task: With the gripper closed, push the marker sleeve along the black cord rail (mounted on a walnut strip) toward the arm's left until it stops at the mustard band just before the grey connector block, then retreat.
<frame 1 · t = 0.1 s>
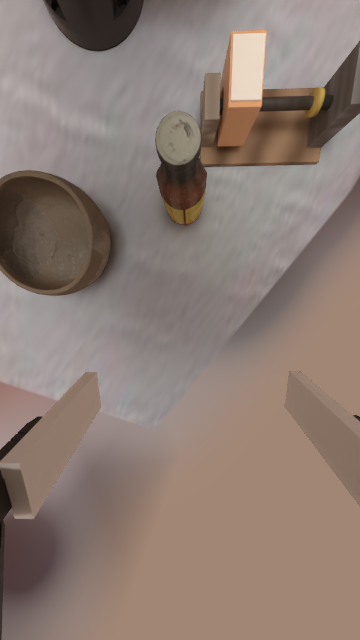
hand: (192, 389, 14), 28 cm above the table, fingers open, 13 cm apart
bowl: (75, 245, 38), on the table
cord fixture: (260, 130, 33), on the table
sauce bottle: (183, 208, 36), on the table
marker sleeve: (238, 97, 27), point 7 cm above the table, slide at 0.0 cm
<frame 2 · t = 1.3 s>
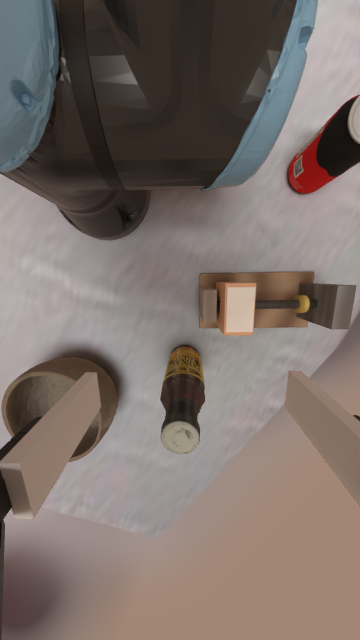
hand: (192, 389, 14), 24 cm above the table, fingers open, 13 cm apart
bowl: (83, 386, 41), on the table
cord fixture: (253, 300, 37), on the table
sauce bottle: (184, 358, 40), on the table
marker sleeve: (232, 306, 30), point 7 cm above the table, slide at 0.0 cm
beverage can: (304, 175, 32), on the table
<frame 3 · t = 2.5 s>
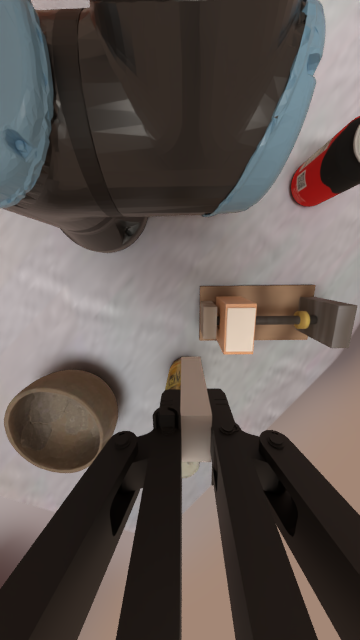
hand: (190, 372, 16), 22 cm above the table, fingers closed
bowl: (84, 395, 42), on the table
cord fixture: (253, 313, 37), on the table
sauce bottle: (184, 369, 40), on the table
marker sleeve: (233, 322, 30), point 7 cm above the table, slide at 0.0 cm
beverage can: (307, 187, 32), on the table
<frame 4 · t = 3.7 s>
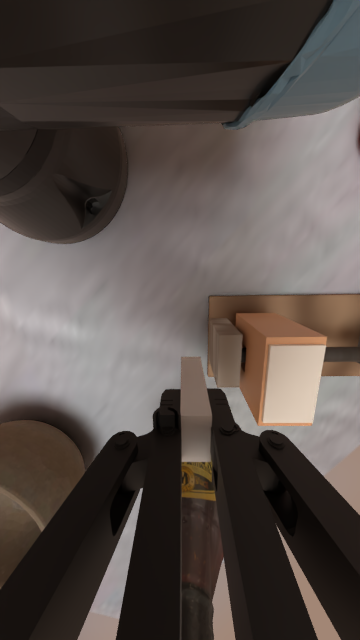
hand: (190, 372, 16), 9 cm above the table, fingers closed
bowl: (42, 450, 29), on the table
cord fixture: (290, 335, 24), on the table
sauce bottle: (184, 415, 27), on the table
marker sleeve: (268, 360, 18), point 7 cm above the table, slide at 0.0 cm
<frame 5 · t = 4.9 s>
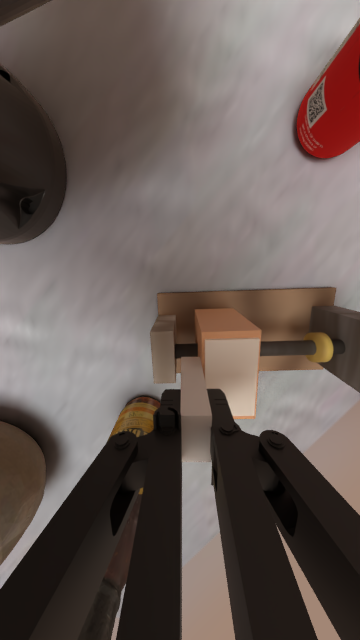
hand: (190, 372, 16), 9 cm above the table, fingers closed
bowl: (7, 449, 30), on the table
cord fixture: (241, 331, 24), on the table
sauce bottle: (144, 412, 28), on the table
marker sleeve: (220, 355, 18), point 7 cm above the table, slide at 1.6 cm, touching gripper
beverage can: (322, 127, 19), on the table
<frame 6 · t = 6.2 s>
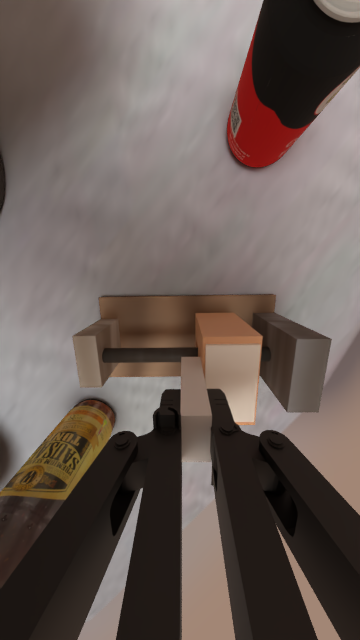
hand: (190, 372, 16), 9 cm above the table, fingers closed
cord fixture: (186, 336, 24), on the table
sauce bottle: (93, 415, 28), on the table
marker sleeve: (220, 360, 18), point 7 cm above the table, slide at 8.4 cm, touching gripper
beverage can: (256, 136, 19), on the table
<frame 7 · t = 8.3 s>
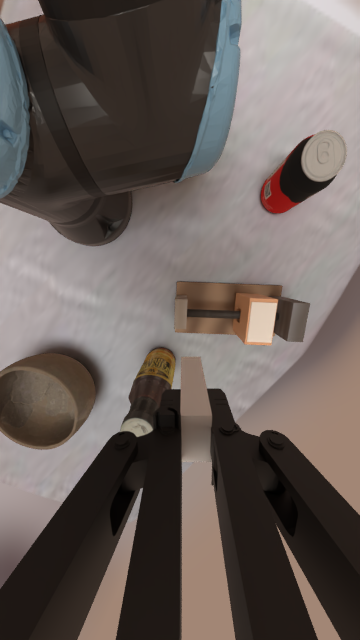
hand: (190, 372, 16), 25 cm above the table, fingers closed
bowl: (65, 380, 44), on the table
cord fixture: (226, 309, 39), on the table
sauce bottle: (160, 359, 42), on the table
marker sleeve: (252, 317, 33), point 7 cm above the table, slide at 8.4 cm
beverage can: (276, 195, 35), on the table
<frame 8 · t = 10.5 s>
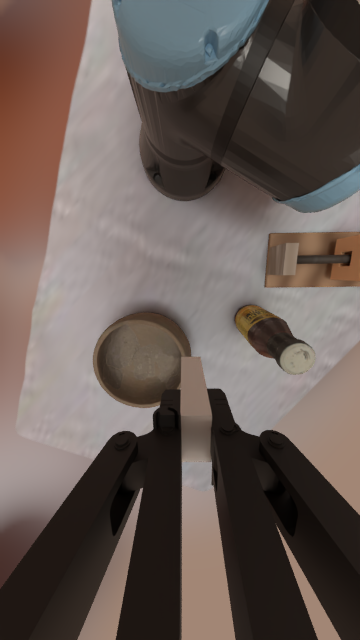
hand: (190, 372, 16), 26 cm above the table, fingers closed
bowl: (149, 345, 44), on the table
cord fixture: (318, 260, 39), on the table
sauce bottle: (247, 318, 42), on the table
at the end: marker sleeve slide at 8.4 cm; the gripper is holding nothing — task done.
